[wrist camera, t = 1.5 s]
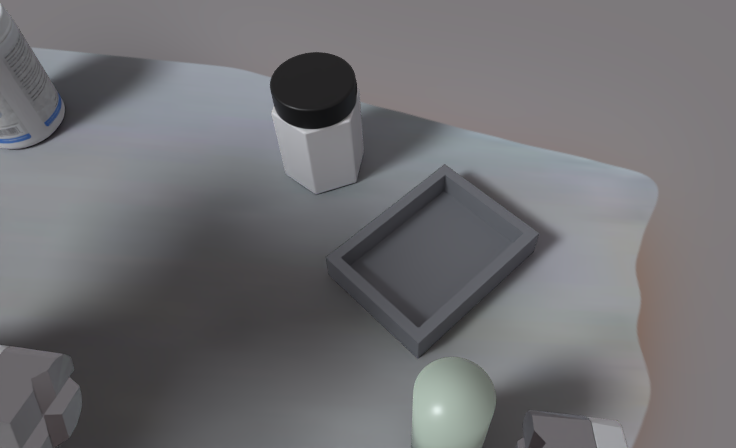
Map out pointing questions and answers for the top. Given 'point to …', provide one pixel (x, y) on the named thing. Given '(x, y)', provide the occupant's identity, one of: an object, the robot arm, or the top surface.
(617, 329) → the top surface
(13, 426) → the robot arm
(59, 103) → the supplement tub
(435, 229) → the tray
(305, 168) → the jar
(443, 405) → the pale green cylinder
